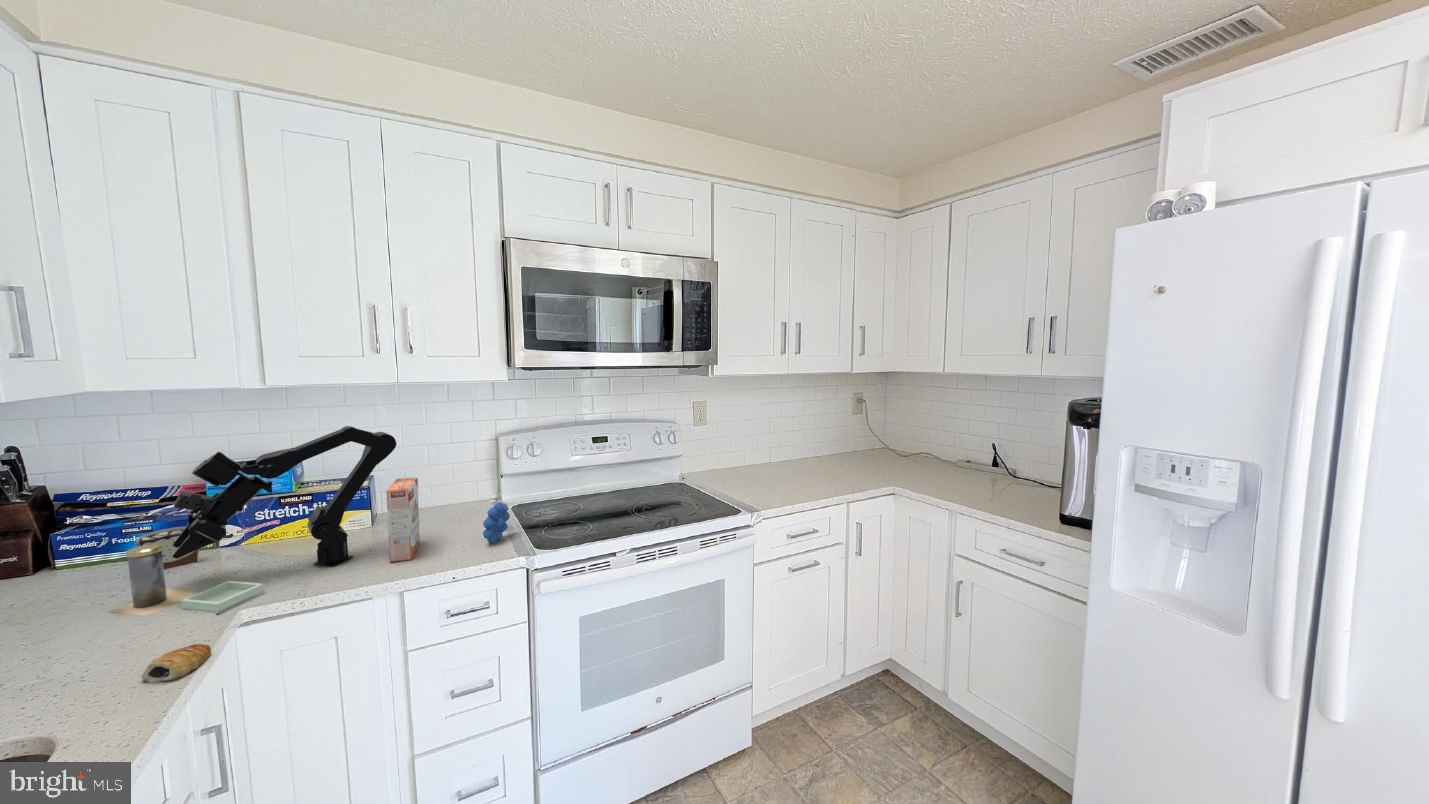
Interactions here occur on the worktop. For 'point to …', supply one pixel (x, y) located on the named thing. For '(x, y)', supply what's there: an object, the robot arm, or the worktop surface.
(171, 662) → the pastry
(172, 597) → the cork mat
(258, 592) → the dish
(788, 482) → the worktop surface
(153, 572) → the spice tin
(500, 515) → the grapes
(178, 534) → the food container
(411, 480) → the cracker box
